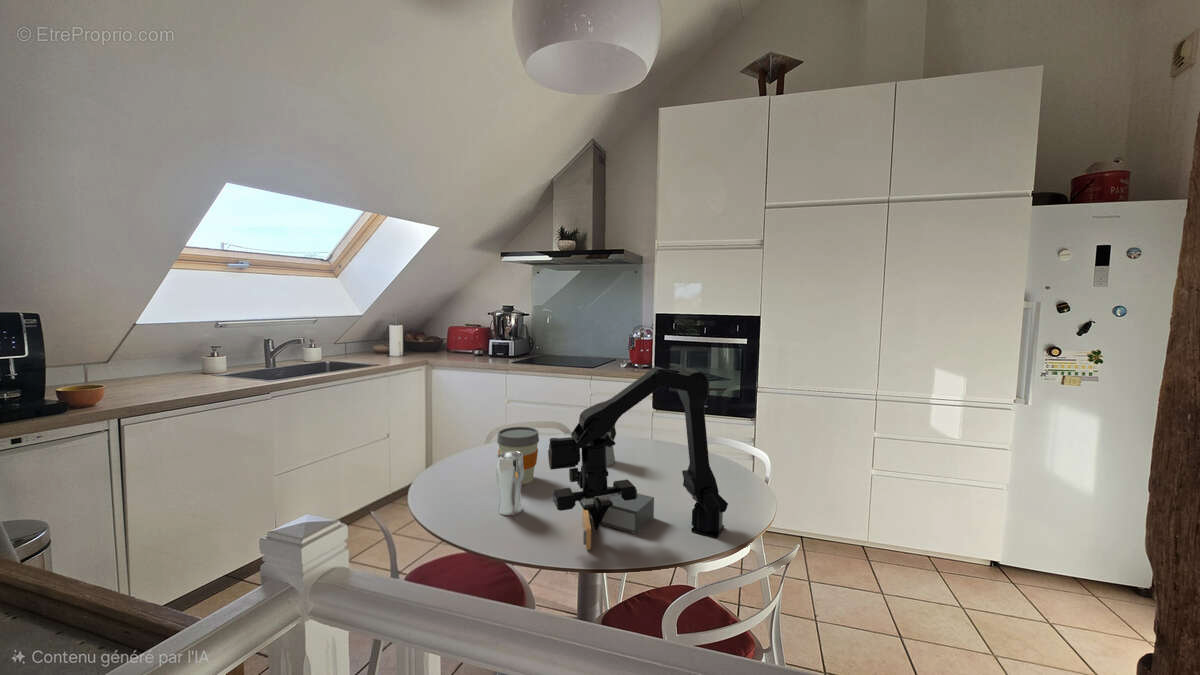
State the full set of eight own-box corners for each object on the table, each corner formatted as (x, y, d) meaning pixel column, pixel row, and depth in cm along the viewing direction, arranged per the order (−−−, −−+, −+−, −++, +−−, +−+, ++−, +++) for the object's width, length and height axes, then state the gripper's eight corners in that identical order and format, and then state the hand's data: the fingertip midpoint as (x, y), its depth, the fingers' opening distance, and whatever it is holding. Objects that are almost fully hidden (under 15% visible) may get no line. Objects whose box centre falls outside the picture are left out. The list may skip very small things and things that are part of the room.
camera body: (656, 514, 128) (657, 492, 127) (636, 534, 117) (636, 509, 117) (609, 502, 135) (609, 481, 134) (586, 520, 124) (586, 496, 124)
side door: (590, 549, 109) (591, 529, 109) (583, 549, 109) (583, 529, 109) (586, 518, 124) (586, 501, 124) (579, 519, 124) (580, 501, 124)
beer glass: (511, 502, 134) (511, 449, 133) (528, 510, 130) (529, 454, 128) (491, 511, 129) (490, 455, 127) (508, 519, 124) (508, 461, 123)
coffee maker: (583, 458, 171) (584, 407, 170) (606, 455, 175) (606, 405, 174) (601, 472, 158) (602, 417, 156) (625, 468, 162) (626, 415, 160)
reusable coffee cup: (517, 491, 142) (517, 440, 141) (488, 480, 149) (488, 432, 148) (547, 478, 152) (547, 431, 151) (519, 469, 159) (519, 424, 158)
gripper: (621, 449, 122) (622, 509, 124) (547, 458, 117) (549, 521, 119) (637, 463, 112) (638, 529, 113) (557, 474, 106) (559, 543, 108)
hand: (595, 529), depth 114 cm, fingers closed
